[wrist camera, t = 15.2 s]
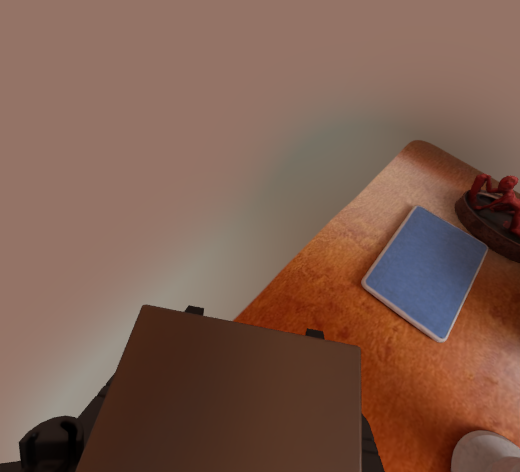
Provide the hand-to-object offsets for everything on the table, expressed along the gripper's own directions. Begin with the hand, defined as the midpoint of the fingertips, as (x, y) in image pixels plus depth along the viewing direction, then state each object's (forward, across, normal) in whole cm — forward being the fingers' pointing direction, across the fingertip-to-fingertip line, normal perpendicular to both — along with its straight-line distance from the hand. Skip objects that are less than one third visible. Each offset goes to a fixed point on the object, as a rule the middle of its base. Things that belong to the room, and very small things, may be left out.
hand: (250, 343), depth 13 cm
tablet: (+29, +24, -3) cm, 38 cm away
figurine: (+36, +36, +4) cm, 52 cm away
